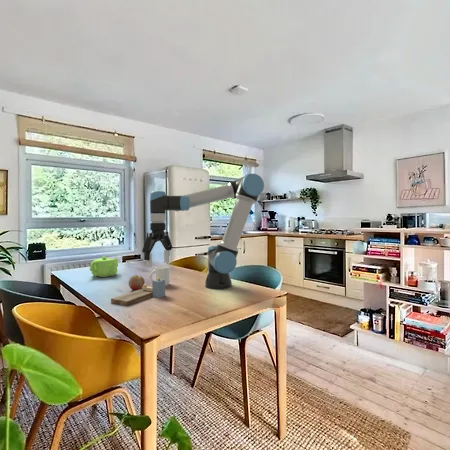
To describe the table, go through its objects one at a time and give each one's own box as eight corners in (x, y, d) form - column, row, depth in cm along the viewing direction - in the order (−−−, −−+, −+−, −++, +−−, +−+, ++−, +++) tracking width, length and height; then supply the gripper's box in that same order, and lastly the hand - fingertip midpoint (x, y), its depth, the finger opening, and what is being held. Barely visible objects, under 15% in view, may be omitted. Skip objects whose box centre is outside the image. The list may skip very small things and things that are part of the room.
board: (158, 293, 150) (158, 289, 150) (127, 305, 131) (126, 301, 131) (144, 291, 155) (143, 287, 155) (111, 302, 135) (110, 298, 135)
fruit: (140, 292, 154) (140, 277, 153) (126, 291, 155) (126, 276, 155) (146, 288, 162) (146, 274, 161) (133, 287, 163) (133, 273, 163)
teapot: (127, 275, 199) (127, 256, 198) (101, 280, 182) (101, 259, 181) (110, 272, 208) (110, 254, 208) (84, 277, 192) (83, 257, 191)
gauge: (165, 295, 148) (165, 277, 148) (158, 297, 143) (158, 279, 143) (147, 292, 153) (146, 275, 153) (140, 294, 149) (140, 277, 148)
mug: (152, 288, 162) (151, 269, 162) (146, 285, 169) (146, 267, 169) (171, 285, 169) (171, 267, 169) (166, 282, 176) (165, 265, 176)
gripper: (167, 221, 158) (167, 260, 159) (134, 222, 136) (134, 268, 137) (178, 222, 155) (179, 261, 155) (146, 223, 132) (146, 269, 133)
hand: (158, 264), depth 146 cm, fingers open, 13 cm apart
